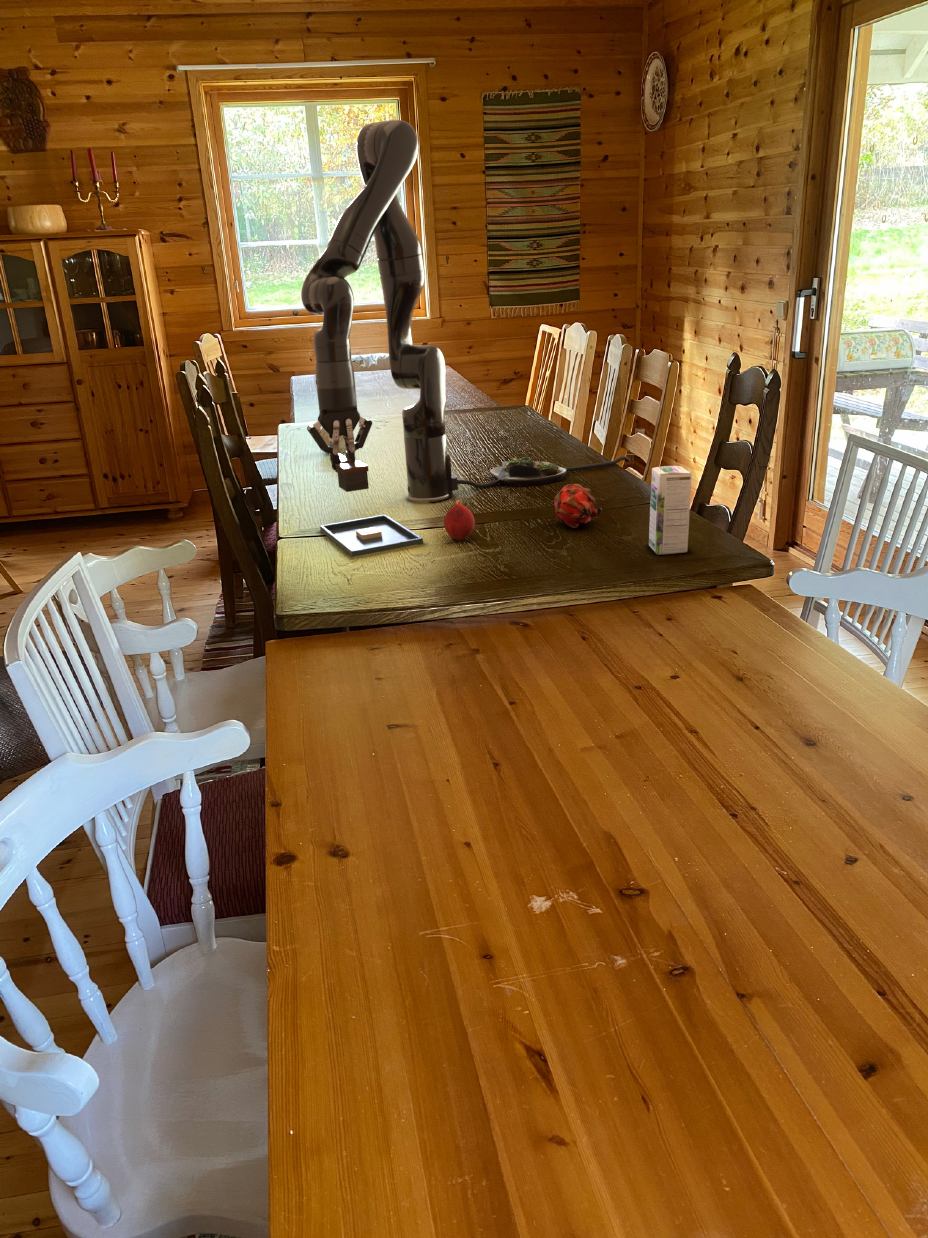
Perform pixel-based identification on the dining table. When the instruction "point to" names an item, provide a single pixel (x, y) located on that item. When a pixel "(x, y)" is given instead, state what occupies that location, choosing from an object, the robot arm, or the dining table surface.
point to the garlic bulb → (341, 440)
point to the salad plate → (527, 472)
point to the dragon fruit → (575, 505)
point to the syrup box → (669, 510)
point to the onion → (459, 521)
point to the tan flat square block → (368, 533)
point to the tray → (355, 546)
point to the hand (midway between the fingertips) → (344, 470)
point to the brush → (352, 474)
